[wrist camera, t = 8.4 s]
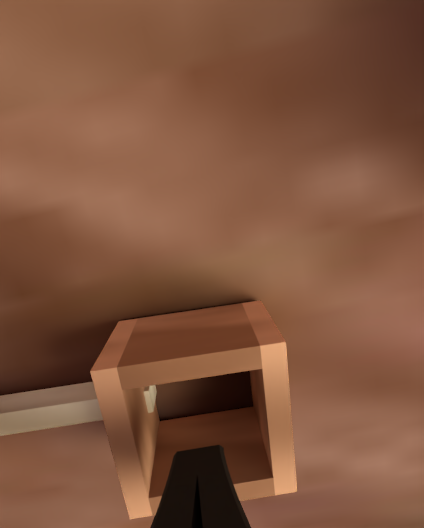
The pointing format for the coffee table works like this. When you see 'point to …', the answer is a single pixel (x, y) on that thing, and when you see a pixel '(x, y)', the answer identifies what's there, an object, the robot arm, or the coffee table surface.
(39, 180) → the coffee table surface
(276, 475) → the pull frame
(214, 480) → the robot arm
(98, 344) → the coffee table surface
